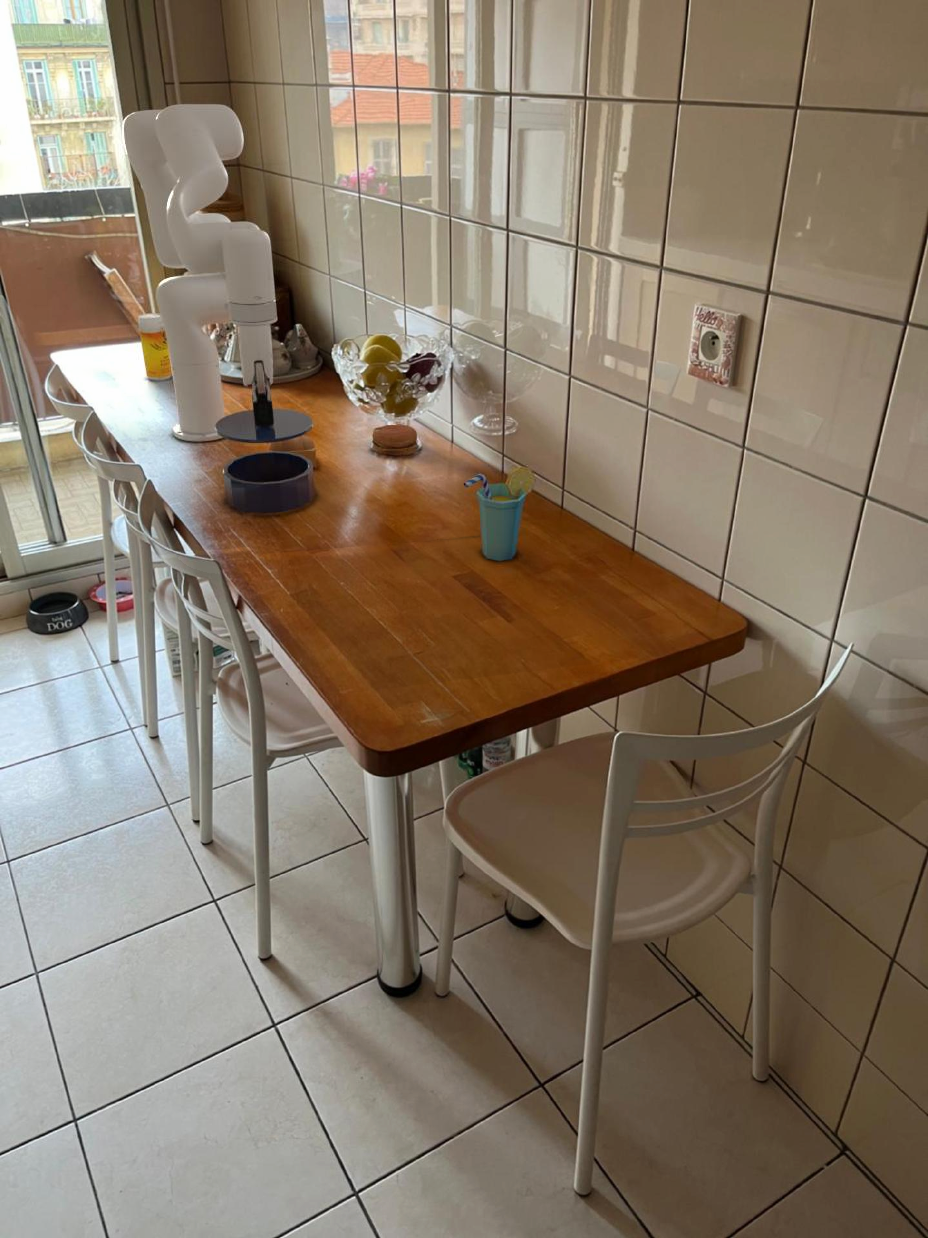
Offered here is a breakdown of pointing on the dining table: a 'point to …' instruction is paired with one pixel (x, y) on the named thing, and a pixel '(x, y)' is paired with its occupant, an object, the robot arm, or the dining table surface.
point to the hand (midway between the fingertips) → (263, 419)
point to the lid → (264, 426)
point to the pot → (269, 496)
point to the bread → (297, 447)
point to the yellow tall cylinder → (154, 346)
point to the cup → (502, 512)
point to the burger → (395, 440)
